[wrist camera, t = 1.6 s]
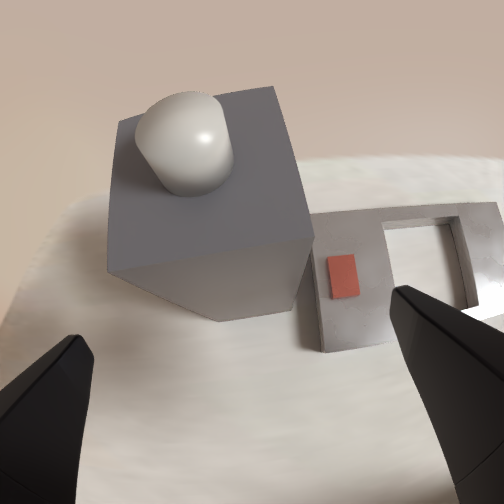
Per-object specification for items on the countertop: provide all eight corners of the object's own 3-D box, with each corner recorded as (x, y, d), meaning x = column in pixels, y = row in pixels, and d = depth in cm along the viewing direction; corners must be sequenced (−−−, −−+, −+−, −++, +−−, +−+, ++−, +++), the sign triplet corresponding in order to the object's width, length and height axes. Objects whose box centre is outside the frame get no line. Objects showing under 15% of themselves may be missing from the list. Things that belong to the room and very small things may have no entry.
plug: (290, 310, 18) (325, 202, 4) (219, 322, 18) (67, 252, 5) (278, 242, 20) (270, 43, 6) (210, 253, 20) (96, 87, 6)
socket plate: (486, 209, 19) (500, 198, 17) (510, 309, 16) (526, 304, 14) (305, 223, 20) (307, 210, 18) (321, 352, 17) (326, 353, 15)
